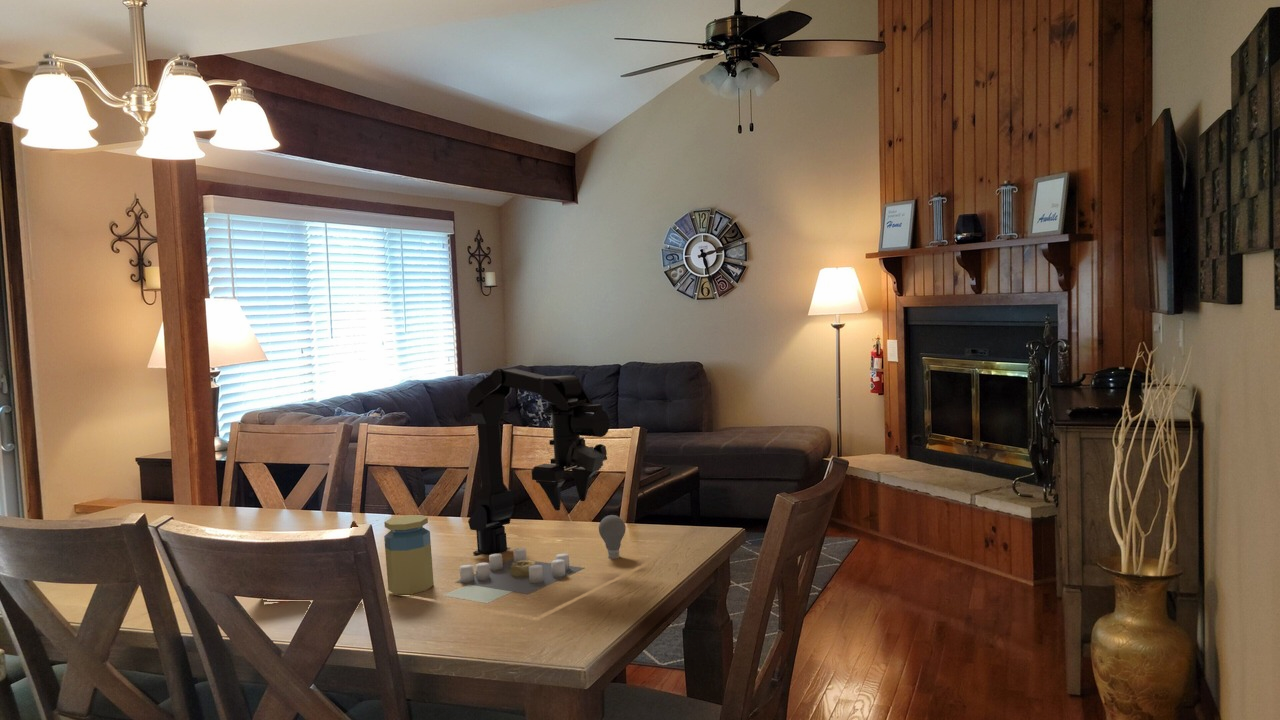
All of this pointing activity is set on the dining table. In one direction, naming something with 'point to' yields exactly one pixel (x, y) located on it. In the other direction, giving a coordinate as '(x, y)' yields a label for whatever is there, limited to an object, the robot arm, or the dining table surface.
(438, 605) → the dining table surface
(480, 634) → the dining table surface
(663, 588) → the dining table surface
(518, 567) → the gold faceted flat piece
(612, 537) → the light bulb
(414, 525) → the jar
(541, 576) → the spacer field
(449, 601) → the dining table surface
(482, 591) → the tile
